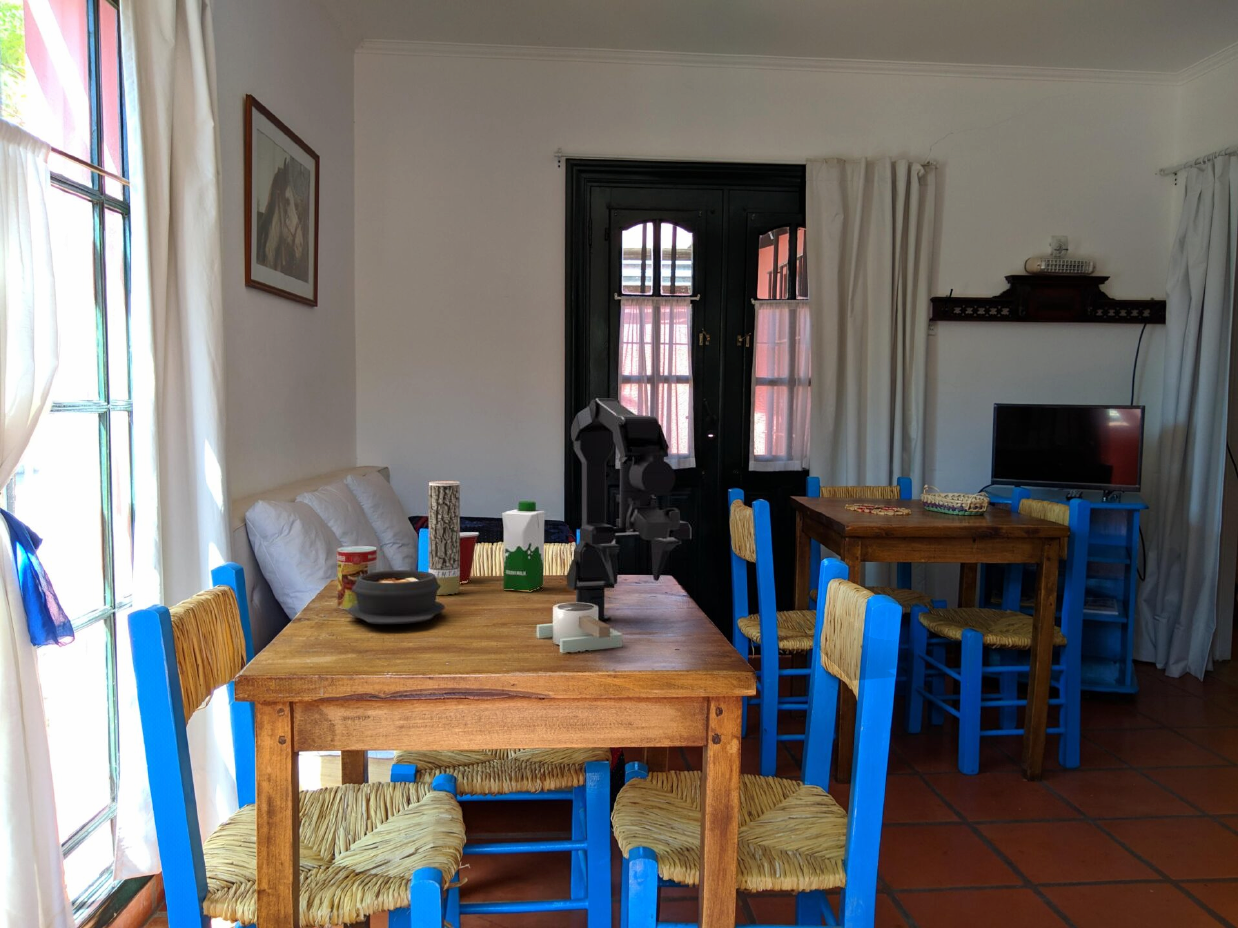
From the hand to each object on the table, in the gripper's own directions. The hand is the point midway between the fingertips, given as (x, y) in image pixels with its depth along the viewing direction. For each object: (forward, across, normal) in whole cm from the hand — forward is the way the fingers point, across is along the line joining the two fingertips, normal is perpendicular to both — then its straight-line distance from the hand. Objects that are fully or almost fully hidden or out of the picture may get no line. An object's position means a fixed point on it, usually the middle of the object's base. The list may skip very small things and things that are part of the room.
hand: (635, 582), depth 151 cm
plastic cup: (+13, -10, +74) cm, 76 cm away
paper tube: (+12, -16, +62) cm, 65 cm away
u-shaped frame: (+12, -7, +10) cm, 17 cm away
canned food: (+12, -36, +56) cm, 68 cm away
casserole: (+12, -31, +42) cm, 53 cm away
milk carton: (+12, +2, +60) cm, 61 cm away
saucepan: (+12, -7, +6) cm, 15 cm away
